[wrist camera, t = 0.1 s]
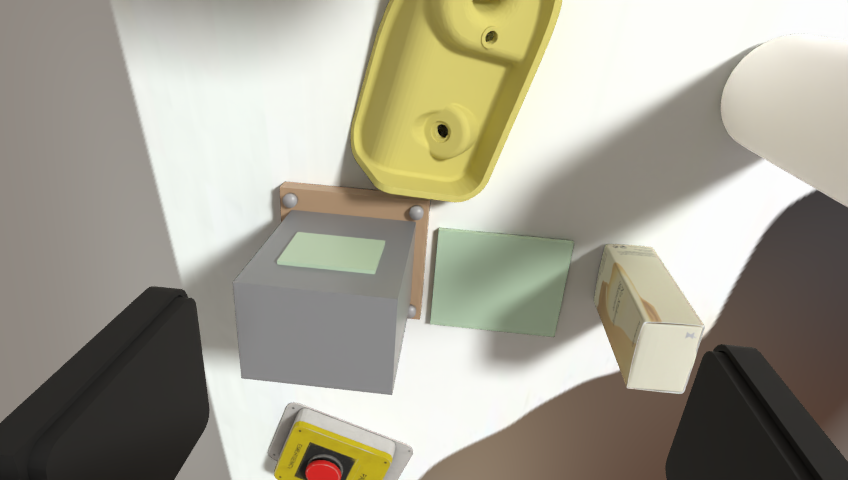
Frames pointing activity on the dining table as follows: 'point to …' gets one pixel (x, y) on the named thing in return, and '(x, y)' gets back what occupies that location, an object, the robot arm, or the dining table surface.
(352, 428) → the emergency button
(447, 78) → the plastic component
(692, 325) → the skincare box
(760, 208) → the dining table surface
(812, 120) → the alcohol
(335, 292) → the mounted unit
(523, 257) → the mat
